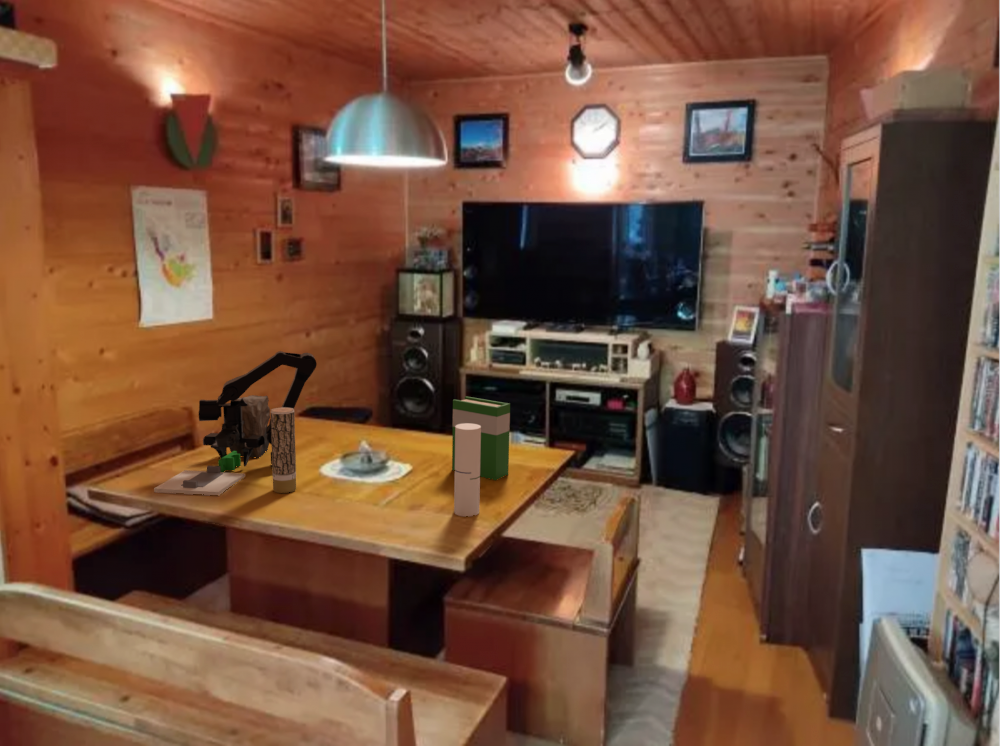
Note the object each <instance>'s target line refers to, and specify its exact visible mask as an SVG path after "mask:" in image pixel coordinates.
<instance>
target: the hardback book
mask: <svg viewBox="0 0 1000 746" xmlns="http://www.w3.org/2000/svg"><path fill="white" fill-rule="evenodd" d="M464 423H471V424H478V425H480V426H481V450H480V476H481V477H480V478H483V477H485V478H484V479H487V478H490V479H489V480H491V479H493V480H492V481H498V480H500V479H502V478H504V477H503V476H505V475H507V476H509V461H510V460H509V459H510V458H509V457H510V424H511V403H510V402H509V403H508V402H502V401H498V400H497V401H496V400H490V399H484V398H477V397H474V396H473V397H471V396H464V399H461V400H460V399H453V400H452V443H451V444H452V445H451V446H452V448H451V449H452V450H451V451H452V452H451V453H452V454H451V455H452V456H451V457H452V459H451V462H452V463H451V470H452V471H454V470H455V426H456V425H458V424H464ZM501 477H502V478H501ZM505 477H506V476H505ZM499 478H500V479H499ZM497 479H498V480H497Z"/></svg>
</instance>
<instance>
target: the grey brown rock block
mask: <svg viewBox="0 0 1000 746" xmlns="http://www.w3.org/2000/svg"><path fill="white" fill-rule="evenodd" d="M241 398H243V399H244V400H245V401H247V402H248V405H247V406H242V421H244V424H243V433H245V436H243V438H249V437H250V436H252V435H262V436H263V437H264V439H265V444H263V445H261V446H260V447H258V448H254V449H253V451H252V453H251V455H250V457H256V458H255V459H260V458H262V456H263V455H264V453H265V454H266V452H268V451H267V450H269V445H270V443H269V442H268V440H267V434H266V428H267V427H268V425H269V423H270V419H271V408H270V406H269V396H268V395H265V396H264V395H263V396H262V395H256V394H255V395H253V394H252V395H248V396H245V397H244V396H243V397H239V398H238V399H236V400H240V399H241ZM236 400H234V401H236ZM243 447H245V444H243V443H233V445H232V446H231V447H229V451H230V453H231V452H233V451H237V454H240V456H244V452H243V450H242V448H243ZM265 451H266V452H265ZM259 457H260V458H259Z"/></svg>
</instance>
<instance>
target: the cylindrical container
mask: <svg viewBox="0 0 1000 746" xmlns="http://www.w3.org/2000/svg"><path fill="white" fill-rule="evenodd" d="M480 450H481V426H480V425H478V424H471V423H464V424H458V425H456V426H455V471H454V488H453V489H454V490H453V492H454V497H453V500H454V501H453V502H454V503H453V506H454V507H453V513H454V514H455V515H456V516H459V517H466V516H468V517H474V516H473V515H475V516H477V515H479V513H480V500H481V499H480V495H481V493H480V492H481V489H480V487H481V477H480Z"/></svg>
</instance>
